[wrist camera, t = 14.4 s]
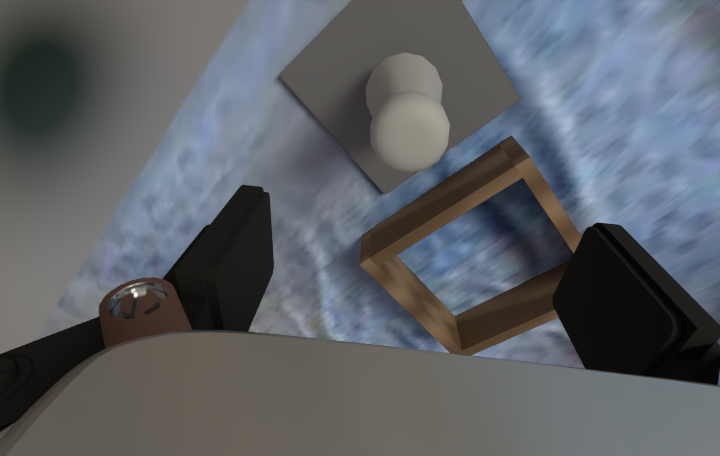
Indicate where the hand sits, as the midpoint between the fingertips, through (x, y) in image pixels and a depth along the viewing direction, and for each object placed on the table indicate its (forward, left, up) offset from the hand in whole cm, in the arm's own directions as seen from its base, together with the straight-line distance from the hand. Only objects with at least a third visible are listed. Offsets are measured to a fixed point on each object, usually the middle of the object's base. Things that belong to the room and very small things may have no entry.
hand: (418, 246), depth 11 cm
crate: (-18, +4, -23) cm, 29 cm away
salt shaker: (0, 0, -23) cm, 23 cm away
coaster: (0, 0, -23) cm, 23 cm away
